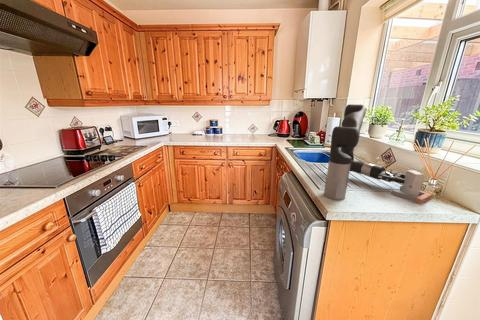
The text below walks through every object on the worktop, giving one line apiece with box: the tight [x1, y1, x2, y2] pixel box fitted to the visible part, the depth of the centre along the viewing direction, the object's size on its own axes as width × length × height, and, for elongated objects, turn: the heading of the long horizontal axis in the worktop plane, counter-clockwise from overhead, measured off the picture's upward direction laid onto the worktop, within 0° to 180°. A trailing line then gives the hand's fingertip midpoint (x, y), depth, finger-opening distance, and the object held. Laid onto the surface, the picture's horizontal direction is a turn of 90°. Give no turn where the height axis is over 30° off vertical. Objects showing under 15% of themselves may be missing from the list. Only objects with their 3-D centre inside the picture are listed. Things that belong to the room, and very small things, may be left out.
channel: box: [390, 185, 433, 205], centre depth 97 cm, size 12×12×2 cm
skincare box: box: [400, 170, 425, 197], centre depth 96 cm, size 6×4×12 cm
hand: (407, 180), depth 97 cm, fingers open, 8 cm apart
